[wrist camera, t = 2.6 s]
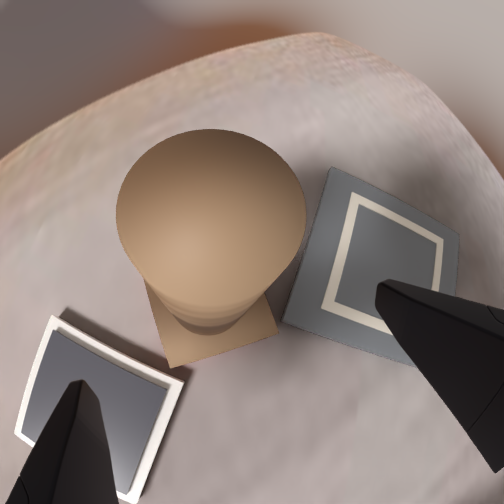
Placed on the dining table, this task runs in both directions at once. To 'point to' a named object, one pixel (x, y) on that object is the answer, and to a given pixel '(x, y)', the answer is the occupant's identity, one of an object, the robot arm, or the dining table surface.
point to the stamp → (210, 237)
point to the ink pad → (102, 399)
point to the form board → (366, 263)
